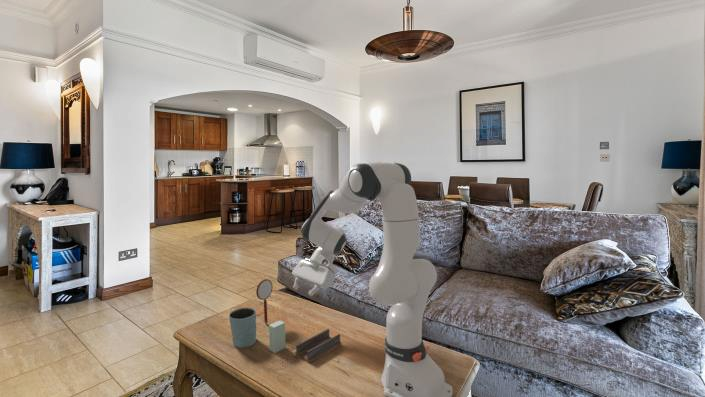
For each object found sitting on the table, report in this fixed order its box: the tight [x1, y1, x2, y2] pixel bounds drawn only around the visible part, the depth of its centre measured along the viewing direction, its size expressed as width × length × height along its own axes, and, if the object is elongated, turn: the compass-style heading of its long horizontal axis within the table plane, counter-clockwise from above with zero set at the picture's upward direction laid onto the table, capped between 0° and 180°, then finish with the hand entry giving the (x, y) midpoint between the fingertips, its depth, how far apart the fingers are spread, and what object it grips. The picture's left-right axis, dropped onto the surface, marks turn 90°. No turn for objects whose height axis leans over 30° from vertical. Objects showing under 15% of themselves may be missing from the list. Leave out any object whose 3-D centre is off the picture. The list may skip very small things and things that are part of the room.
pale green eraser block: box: [268, 319, 287, 354], centre depth 132 cm, size 3×5×10 cm, turn 137°
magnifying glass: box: [255, 278, 274, 325], centre depth 150 cm, size 9×2×20 cm, turn 146°
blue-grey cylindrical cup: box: [228, 307, 257, 349], centre depth 137 cm, size 10×10×12 cm
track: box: [294, 328, 342, 364], centre depth 131 cm, size 8×16×4 cm, turn 137°
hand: (302, 291), depth 139 cm, fingers open, 8 cm apart
